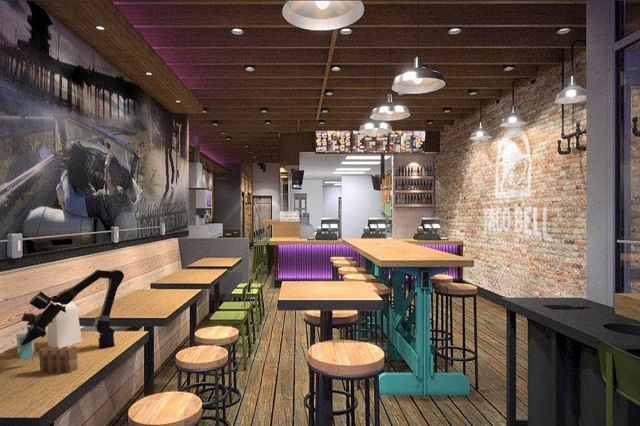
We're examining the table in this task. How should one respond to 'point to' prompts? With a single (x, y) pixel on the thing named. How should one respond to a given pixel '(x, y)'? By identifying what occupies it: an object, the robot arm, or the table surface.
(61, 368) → the domino
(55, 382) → the table surface
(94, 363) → the table surface
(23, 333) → the ink box
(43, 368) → the domino
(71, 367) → the domino
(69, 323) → the milk
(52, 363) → the domino
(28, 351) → the domino
